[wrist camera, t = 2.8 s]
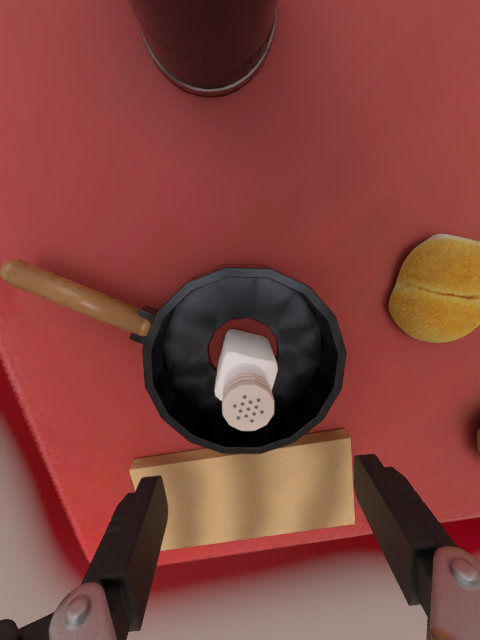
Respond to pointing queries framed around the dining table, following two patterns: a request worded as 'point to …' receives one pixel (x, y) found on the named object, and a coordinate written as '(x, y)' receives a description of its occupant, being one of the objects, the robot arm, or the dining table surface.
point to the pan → (193, 339)
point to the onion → (478, 440)
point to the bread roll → (438, 290)
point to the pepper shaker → (246, 380)
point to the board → (254, 490)
